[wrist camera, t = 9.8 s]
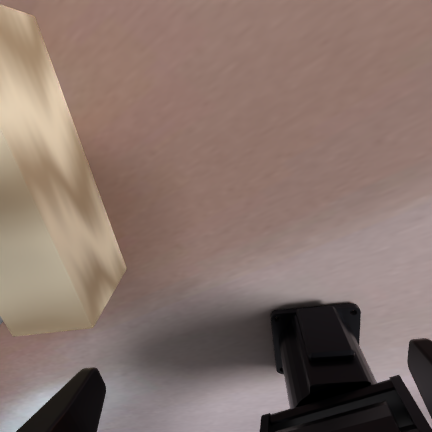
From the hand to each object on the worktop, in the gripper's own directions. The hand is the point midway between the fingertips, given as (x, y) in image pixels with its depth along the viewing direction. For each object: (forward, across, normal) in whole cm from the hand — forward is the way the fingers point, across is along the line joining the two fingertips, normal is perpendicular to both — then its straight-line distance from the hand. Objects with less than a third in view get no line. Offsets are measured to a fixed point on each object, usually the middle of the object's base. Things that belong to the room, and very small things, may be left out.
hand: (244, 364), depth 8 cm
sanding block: (+12, +11, -5) cm, 17 cm away
